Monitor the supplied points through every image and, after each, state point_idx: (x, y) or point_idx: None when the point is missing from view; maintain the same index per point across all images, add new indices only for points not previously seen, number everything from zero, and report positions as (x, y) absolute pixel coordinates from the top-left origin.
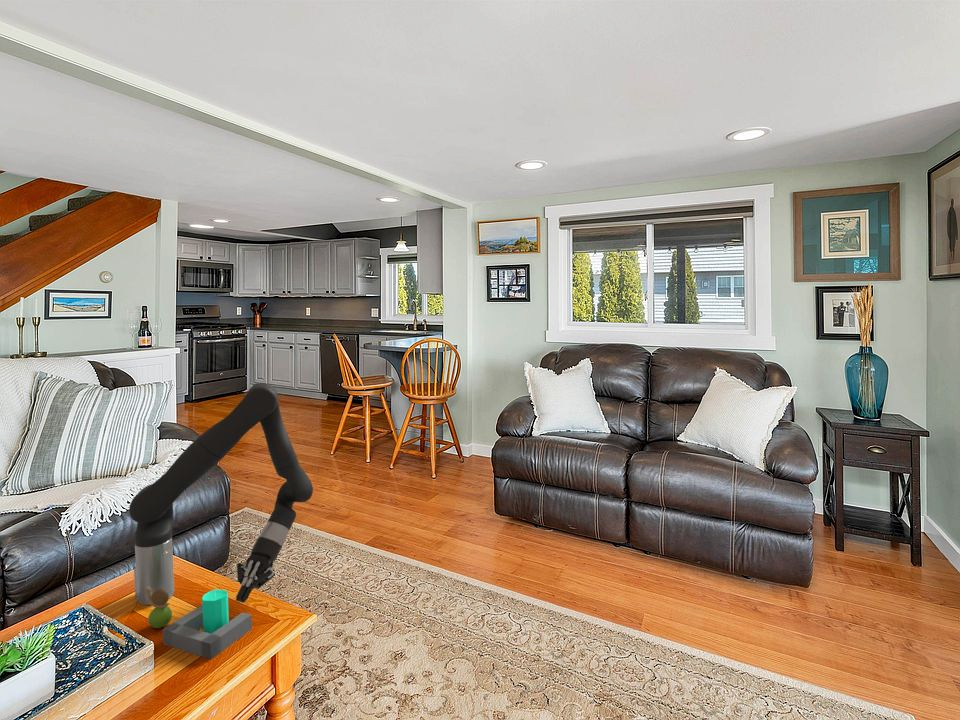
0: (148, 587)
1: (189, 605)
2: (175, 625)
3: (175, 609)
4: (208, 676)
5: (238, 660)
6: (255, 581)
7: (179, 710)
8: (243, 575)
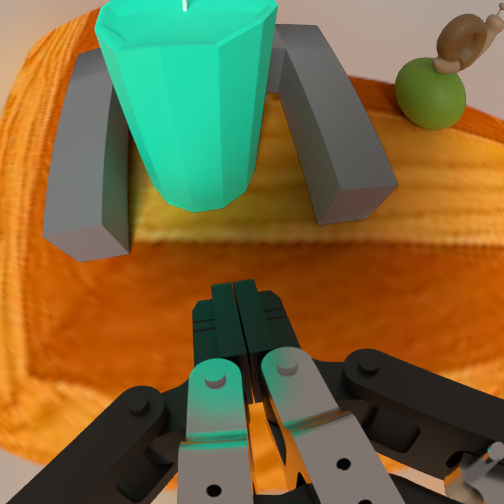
0: (496, 15)
1: (481, 235)
2: (304, 41)
3: (482, 196)
4: (58, 72)
5: (19, 136)
6: (129, 426)
7: (56, 28)
8: (413, 439)
